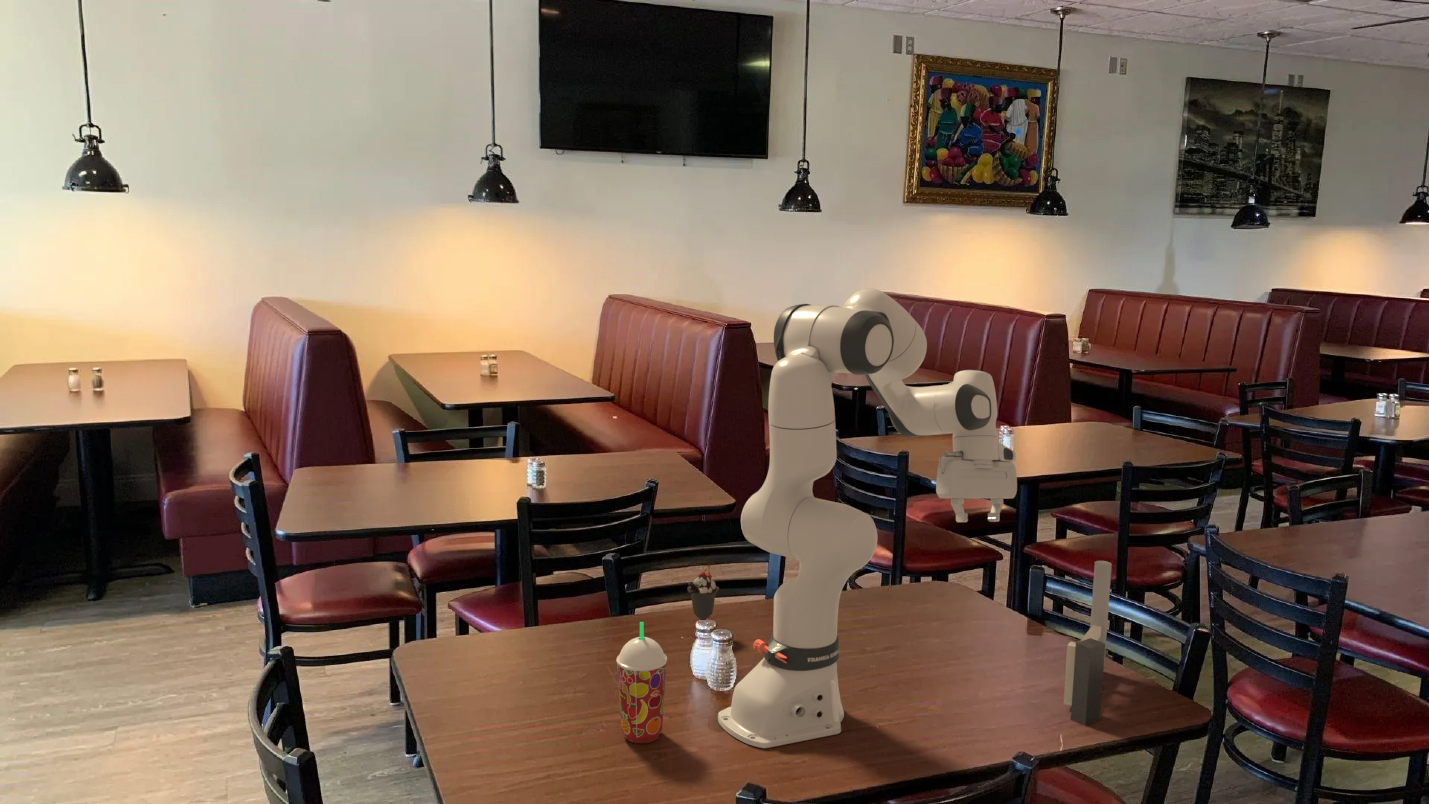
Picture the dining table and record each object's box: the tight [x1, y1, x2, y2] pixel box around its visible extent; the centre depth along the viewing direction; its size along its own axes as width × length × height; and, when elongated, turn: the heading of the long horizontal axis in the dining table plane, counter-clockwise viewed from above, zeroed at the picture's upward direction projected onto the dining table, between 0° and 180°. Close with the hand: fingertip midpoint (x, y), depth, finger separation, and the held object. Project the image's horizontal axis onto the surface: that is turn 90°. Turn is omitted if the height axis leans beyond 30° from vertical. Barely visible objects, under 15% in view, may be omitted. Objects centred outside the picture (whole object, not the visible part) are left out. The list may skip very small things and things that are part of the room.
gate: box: [1063, 560, 1113, 707], centre depth 192 cm, size 21×3×21 cm, turn 147°
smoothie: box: [615, 621, 668, 744], centre depth 173 cm, size 8×8×20 cm
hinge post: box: [1070, 638, 1106, 727], centre depth 181 cm, size 4×3×14 cm
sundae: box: [686, 563, 720, 638], centre depth 218 cm, size 7×7×15 cm
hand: (978, 522), depth 207 cm, fingers open, 8 cm apart
